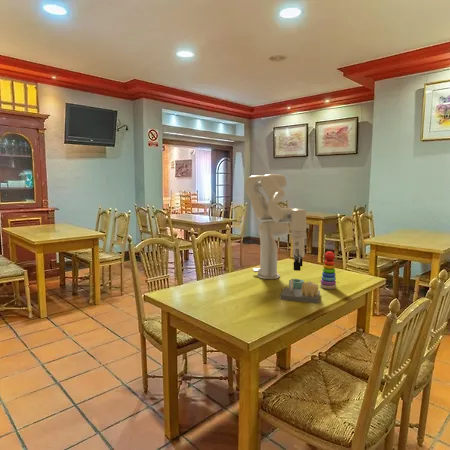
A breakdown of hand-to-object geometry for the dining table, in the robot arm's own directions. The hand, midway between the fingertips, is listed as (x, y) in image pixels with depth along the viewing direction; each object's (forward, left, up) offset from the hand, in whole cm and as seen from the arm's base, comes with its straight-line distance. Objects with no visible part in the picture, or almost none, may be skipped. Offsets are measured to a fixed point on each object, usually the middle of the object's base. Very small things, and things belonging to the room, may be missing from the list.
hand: (298, 268), depth 174 cm
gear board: (+2, -10, -11) cm, 15 cm away
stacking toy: (+14, +9, -11) cm, 20 cm away
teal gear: (-1, +1, -11) cm, 11 cm away
